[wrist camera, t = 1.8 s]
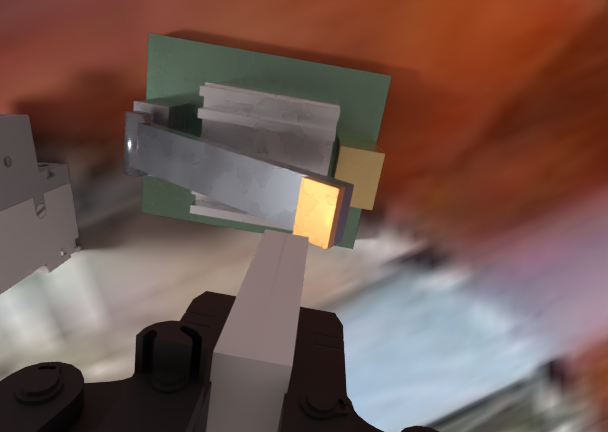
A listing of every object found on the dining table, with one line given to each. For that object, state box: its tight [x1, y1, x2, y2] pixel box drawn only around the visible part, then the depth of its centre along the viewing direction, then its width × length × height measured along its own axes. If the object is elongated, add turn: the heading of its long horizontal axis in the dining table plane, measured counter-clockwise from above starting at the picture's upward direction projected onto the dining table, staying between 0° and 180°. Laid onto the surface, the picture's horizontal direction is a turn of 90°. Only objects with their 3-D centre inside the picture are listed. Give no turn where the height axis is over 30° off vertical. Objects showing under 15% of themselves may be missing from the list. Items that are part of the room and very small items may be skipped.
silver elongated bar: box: [123, 110, 354, 249], centre depth 24 cm, size 16×4×2 cm, turn 81°
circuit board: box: [133, 33, 391, 249], centre depth 31 cm, size 18×14×7 cm
